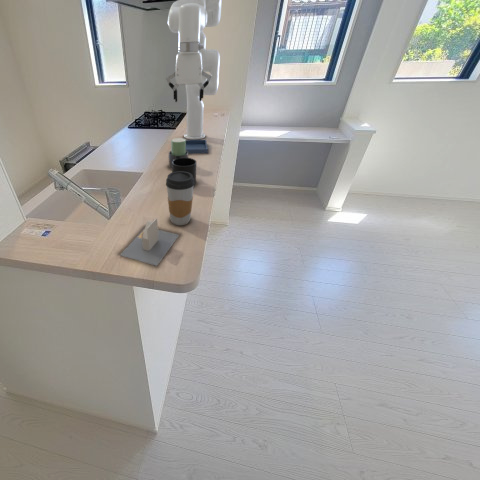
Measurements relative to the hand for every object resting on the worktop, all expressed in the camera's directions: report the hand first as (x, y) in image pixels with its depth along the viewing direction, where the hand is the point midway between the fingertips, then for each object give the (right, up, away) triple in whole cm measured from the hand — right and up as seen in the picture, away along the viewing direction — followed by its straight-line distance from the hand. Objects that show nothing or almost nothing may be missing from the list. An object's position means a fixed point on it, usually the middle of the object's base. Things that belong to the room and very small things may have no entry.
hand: (188, 101), depth 107 cm
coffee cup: (-5, -50, -21) cm, 54 cm away
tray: (+6, -8, +35) cm, 36 cm away
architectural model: (-14, -57, -31) cm, 67 cm away
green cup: (-3, -22, +15) cm, 27 cm away
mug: (-1, -33, +2) cm, 33 cm away
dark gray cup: (-3, -22, +15) cm, 27 cm away
